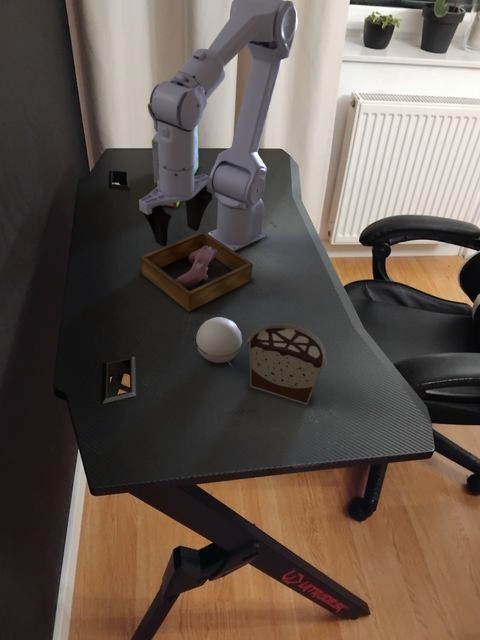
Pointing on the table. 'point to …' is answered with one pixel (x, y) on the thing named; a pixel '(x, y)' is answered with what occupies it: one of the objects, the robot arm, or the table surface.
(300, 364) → the brown and beige cupcake
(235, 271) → the wooden frame
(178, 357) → the table surface
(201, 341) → the seamed sphere
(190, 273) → the video game controller
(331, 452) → the table surface
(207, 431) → the table surface
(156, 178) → the snack box
